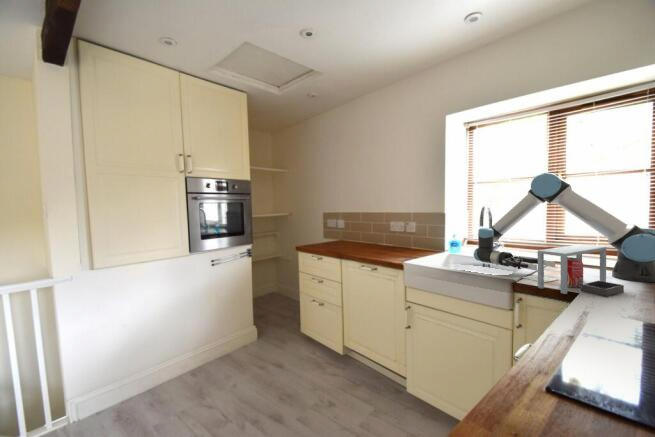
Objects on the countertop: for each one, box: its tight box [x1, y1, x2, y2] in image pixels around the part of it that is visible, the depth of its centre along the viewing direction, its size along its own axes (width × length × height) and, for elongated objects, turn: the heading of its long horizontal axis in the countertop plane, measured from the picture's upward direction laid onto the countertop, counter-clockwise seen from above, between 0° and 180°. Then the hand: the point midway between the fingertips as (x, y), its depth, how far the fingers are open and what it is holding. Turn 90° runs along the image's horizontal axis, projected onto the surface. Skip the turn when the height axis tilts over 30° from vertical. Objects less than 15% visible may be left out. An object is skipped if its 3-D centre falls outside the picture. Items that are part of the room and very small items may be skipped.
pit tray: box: [580, 280, 625, 298], centre depth 109 cm, size 12×8×3 cm, turn 112°
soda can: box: [567, 256, 584, 288], centre depth 118 cm, size 7×7×12 cm
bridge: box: [537, 244, 607, 295], centre depth 118 cm, size 30×10×16 cm, turn 112°
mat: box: [521, 274, 559, 284], centre depth 131 cm, size 10×10×1 cm
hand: (545, 265), depth 128 cm, fingers open, 13 cm apart
